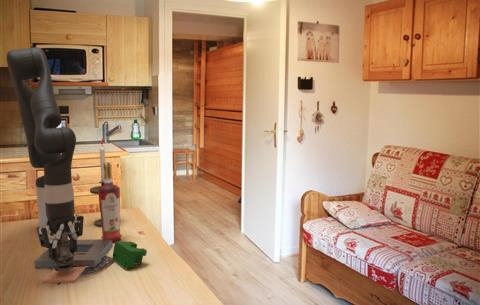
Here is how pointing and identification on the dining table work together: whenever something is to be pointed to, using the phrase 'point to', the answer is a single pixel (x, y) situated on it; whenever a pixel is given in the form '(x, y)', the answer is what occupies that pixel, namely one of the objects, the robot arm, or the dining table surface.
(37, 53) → the robot arm
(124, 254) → the clamp
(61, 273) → the tile
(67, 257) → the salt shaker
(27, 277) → the dining table surface
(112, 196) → the liquor
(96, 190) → the candlestick
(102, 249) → the grey square frame
